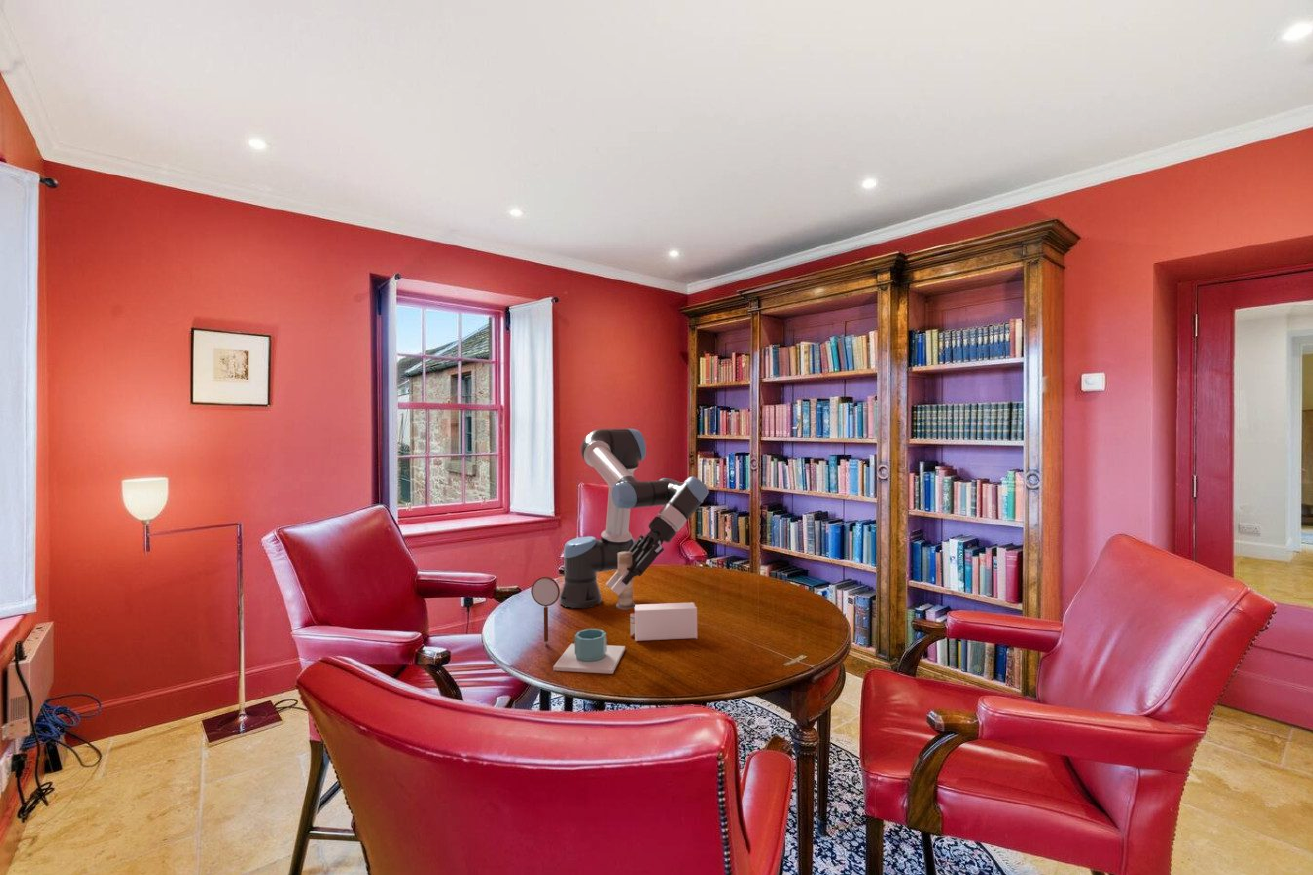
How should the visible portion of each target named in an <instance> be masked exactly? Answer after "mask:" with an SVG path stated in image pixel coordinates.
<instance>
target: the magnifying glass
mask: <svg viewBox="0 0 1313 875" xmlns="http://www.w3.org/2000/svg"><path fill="white" fill-rule="evenodd" d="M531 595H532V596H531V597H532V598H533V600H534V601H535V603H537V605H540V606H543V642H544V644H545V645H548V642H549V608H548V607H549V606H552V605H554V604H555V603H556V602H558V600H559V599H560V596H561V590H560V586H559V583H557V581H556V580H555V579H554V578H552V577H549V576H541V577H538V578H537V579H536V580H534V582H533V583H532V586H531Z"/></svg>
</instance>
